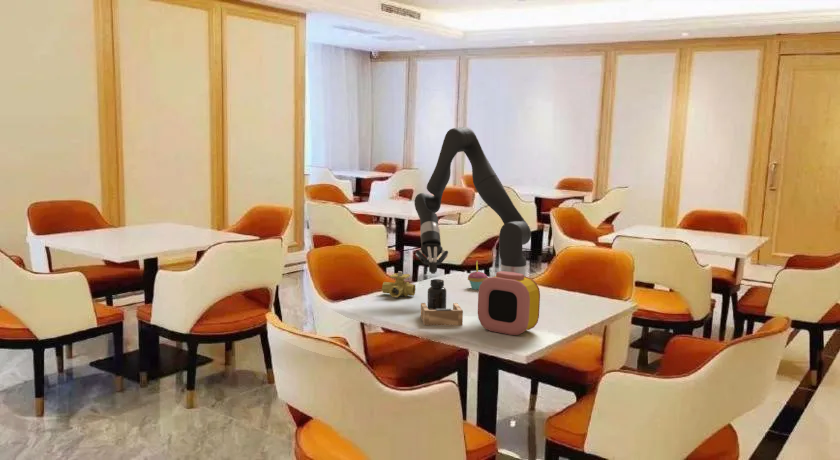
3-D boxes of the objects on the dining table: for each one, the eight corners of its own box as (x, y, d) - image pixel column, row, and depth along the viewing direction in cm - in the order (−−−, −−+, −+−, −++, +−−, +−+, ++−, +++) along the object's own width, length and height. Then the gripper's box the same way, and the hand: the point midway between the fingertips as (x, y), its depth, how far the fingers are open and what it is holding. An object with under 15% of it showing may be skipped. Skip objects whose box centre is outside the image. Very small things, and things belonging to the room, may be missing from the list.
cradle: (420, 316, 259) (420, 301, 258) (456, 316, 260) (457, 302, 260) (424, 325, 247) (424, 309, 247) (462, 325, 249) (462, 309, 248)
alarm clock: (475, 329, 244) (477, 272, 242) (490, 322, 253) (493, 267, 251) (525, 339, 234) (528, 279, 232) (540, 331, 243) (543, 274, 241)
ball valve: (416, 295, 294) (416, 270, 293) (409, 300, 285) (409, 275, 283) (386, 292, 298) (386, 268, 296) (378, 297, 288) (378, 272, 287)
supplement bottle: (435, 309, 270) (435, 277, 269) (449, 312, 266) (450, 280, 264) (423, 312, 265) (424, 280, 263) (438, 316, 261) (439, 283, 259)
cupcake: (464, 286, 313) (465, 259, 312) (482, 286, 316) (484, 258, 314) (471, 290, 305) (472, 262, 304) (490, 290, 308) (491, 261, 306)
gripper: (414, 229, 282) (416, 266, 272) (448, 230, 284) (452, 267, 273) (412, 241, 288) (415, 278, 278) (445, 241, 290) (449, 278, 279)
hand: (433, 272), depth 275 cm, fingers closed
